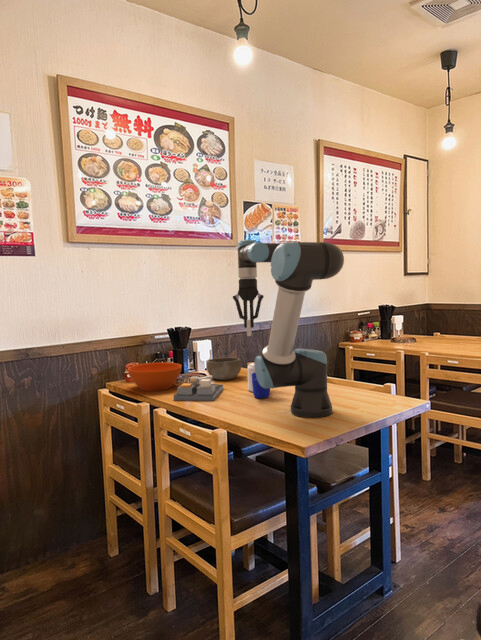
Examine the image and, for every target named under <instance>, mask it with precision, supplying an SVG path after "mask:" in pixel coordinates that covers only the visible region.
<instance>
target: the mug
mask: <svg viewBox="0 0 481 640" xmlns="http://www.w3.org/2000/svg"><path fill="white" fill-rule="evenodd" d="M252 384H253V392H252V393H253V396H254V398H256V399H261V400H262V399H263V400H264V399H268V398H270V395H271V388H263V387H261V386H260V384H259V382H258V380H257V377H256V373H252Z"/></svg>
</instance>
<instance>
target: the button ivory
mask: <svg viewBox="0 0 481 640" xmlns="http://www.w3.org/2000/svg"><path fill="white" fill-rule="evenodd" d="M199 384H200V386H201V388H210V387H211V384H212V378H211V379H202V380H201V381H199Z"/></svg>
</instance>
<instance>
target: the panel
mask: <svg viewBox="0 0 481 640" xmlns="http://www.w3.org/2000/svg"><path fill="white" fill-rule="evenodd" d="M181 385H182V384H180V385H178V387H177V388H176V393H175V394H174V395H173V396H172V397H173V401H178V402H179V401H183V402H184V401H185V402H186V401H187V402H188V401H189V402H190V401H191V402H196V401H197V402H202V401H203V402H214V401H215V400H216V398H217V397H218V396H219V395H220V394H221V392H222V391H224V384H218V383H211V387H210V388H201V386H200V383H199V387H196V385H192V386H191V387H190V388H181Z"/></svg>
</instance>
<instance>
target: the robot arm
mask: <svg viewBox="0 0 481 640" xmlns="http://www.w3.org/2000/svg"><path fill="white" fill-rule="evenodd" d="M344 257H345V256H344V252H343V251H342V250H341V248H339V246H337V245H335V244H333V243H332V242H324V241H322V242H321V241H320V242H316V241H315V242H313V241H308V242H307V241H303V242H302V241H290V242H280V243H279V242H262V241H255V240H254V239H243V240H242V239H241V240H239V241H238V242H237V263H238V264H237V266H238V267H237V269H238V271H237V272H238V274H237V275H238V279H239V280H238V291H237V293H236V294H235V295H233V296H232V299H233V300H234V301H235V302H234V303H235V306H236V309H237V312H238V316H239V319H240V320H241V319H242V320H243V325H244V329H245V328H246V336H247V337H251V336H252V328H254V325H255V323H254V320H255V319H257V318H259V314H260V309H261V305H262V301H263V299H264V295H263V294H261V293H259V290H258V279H257V277H258V270H257V269H258V266H257V263H259V264H260V263H270V267H271V268H270V273H271V276H272V278H273V279H274V283H275V284H276V285H277V286H278V288H277V289H278V290H277V296H276V300H275V307H274V311H273V317H272V323H271V328H270V333H269V338H268V339H269V340H268V345H266V346H265V347H263V349H262V352H261V353H262V354H261V355H257V356H255V358H254V362H253V363H254V366H255V373H256V377H257V380H258V382H259V384H260V386H261V387H263V388H270V389H272V390H274V389H277V388H286V387H295V388H294V394H293V397H292V400H291V404H290V413H291V414H292V415H294V416H297V417H300V418H301V417H302V418H309V419H310V418H325V417H327V416H331V415H332V414H333V405H332V402H331V399H330V396H329V393H328V359H327V354H326V353H325V351H322V350H317V349H310V348H295V349H294V345H295V341H296V337H297V336H296V335H297V331H298V327H299V324H300V323H299V322H300V318H301V313H302V310H303V309H302V308H303V305H304V304H303V303H304V299H305V295H306V292H308V291H309V290H311V288H312V285H313V281H314V280H315V281H316V280H327V279H331V278H333V277H335V276H337V275H338V274H339V273H340V272H341V270H342V268H344V267H343V266H344V265H345V258H344ZM256 298H257V299H258V300H257V302H256V309H255V312H254V301H255V299H256ZM239 299H241V300H242V302H243V304H242V305H243V311H242V307H241V303H240V300H239ZM248 302H249V317H248ZM254 313H255V314H254ZM330 414H331V415H330ZM324 416H325V417H324Z"/></svg>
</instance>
